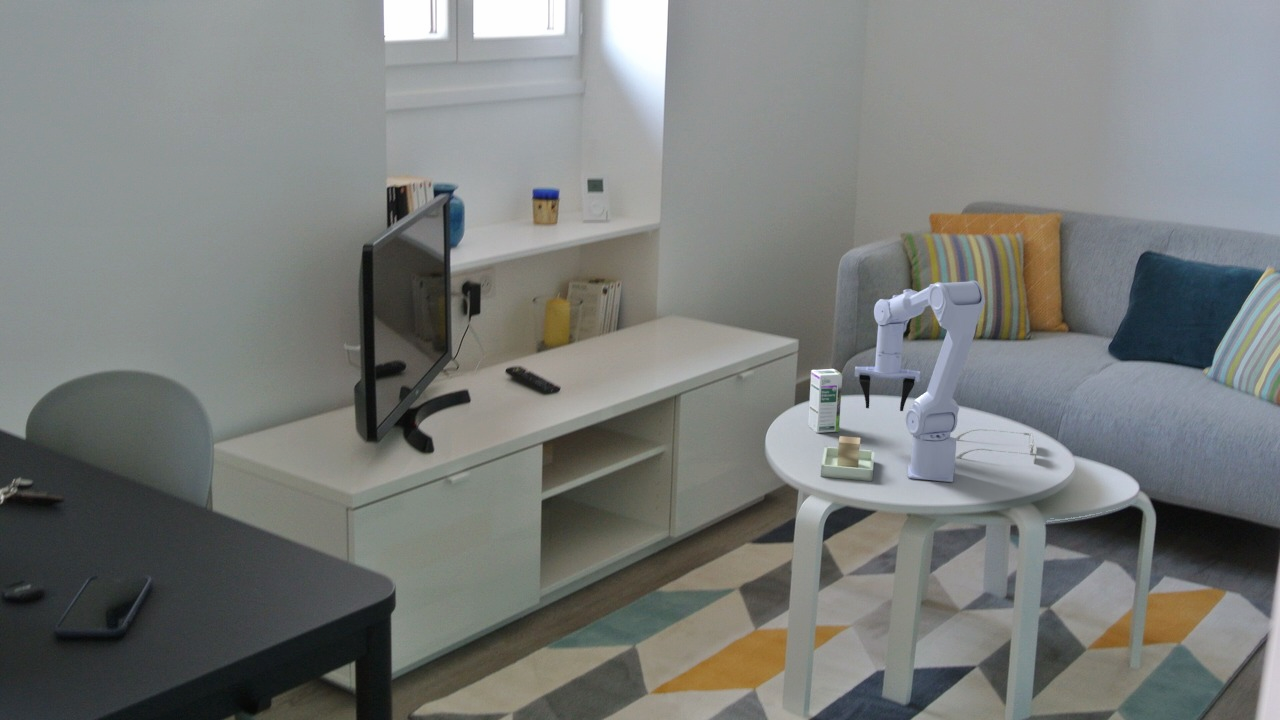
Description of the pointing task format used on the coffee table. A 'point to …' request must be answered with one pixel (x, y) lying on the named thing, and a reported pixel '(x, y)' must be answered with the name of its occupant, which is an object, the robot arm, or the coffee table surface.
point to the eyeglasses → (1003, 451)
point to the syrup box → (825, 400)
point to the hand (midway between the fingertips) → (884, 408)
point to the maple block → (848, 451)
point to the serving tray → (860, 473)
